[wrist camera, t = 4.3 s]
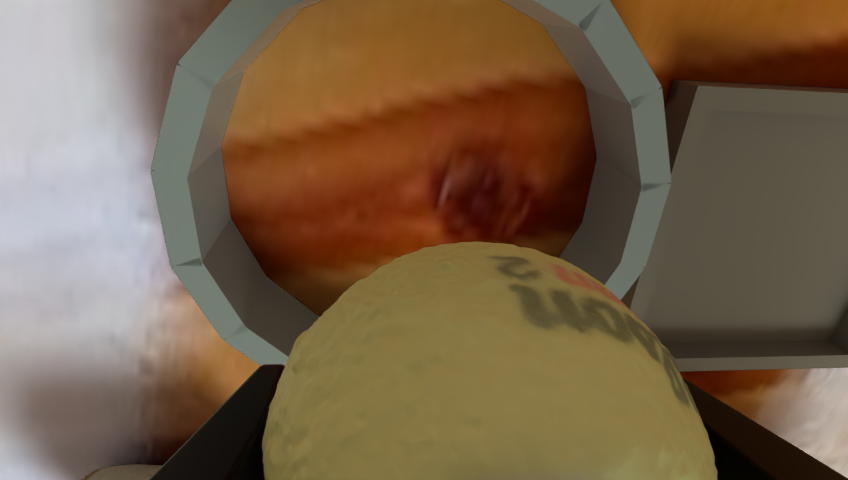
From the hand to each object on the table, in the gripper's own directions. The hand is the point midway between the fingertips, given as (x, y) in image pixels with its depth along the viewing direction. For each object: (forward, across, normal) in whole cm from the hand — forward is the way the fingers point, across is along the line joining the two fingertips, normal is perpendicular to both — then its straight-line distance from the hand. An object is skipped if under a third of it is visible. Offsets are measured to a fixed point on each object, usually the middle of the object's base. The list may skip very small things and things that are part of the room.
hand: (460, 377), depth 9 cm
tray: (+11, -16, +2) cm, 19 cm away
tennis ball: (+1, 0, 0) cm, 1 cm away
